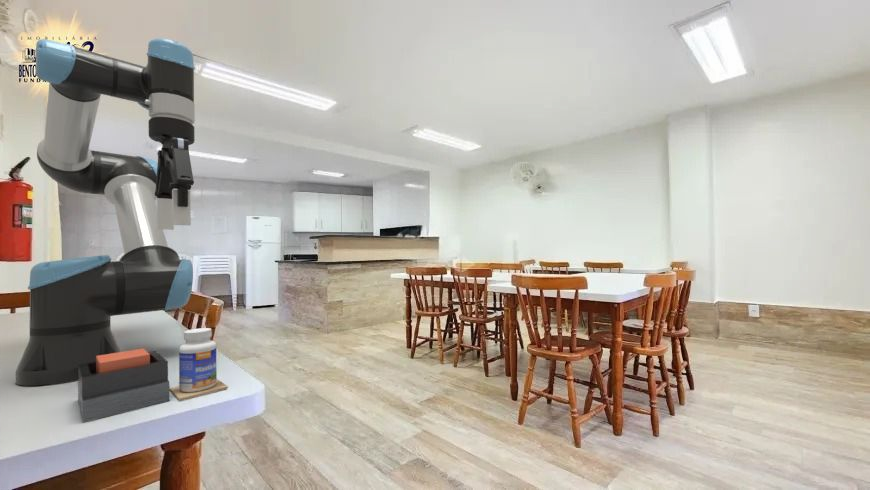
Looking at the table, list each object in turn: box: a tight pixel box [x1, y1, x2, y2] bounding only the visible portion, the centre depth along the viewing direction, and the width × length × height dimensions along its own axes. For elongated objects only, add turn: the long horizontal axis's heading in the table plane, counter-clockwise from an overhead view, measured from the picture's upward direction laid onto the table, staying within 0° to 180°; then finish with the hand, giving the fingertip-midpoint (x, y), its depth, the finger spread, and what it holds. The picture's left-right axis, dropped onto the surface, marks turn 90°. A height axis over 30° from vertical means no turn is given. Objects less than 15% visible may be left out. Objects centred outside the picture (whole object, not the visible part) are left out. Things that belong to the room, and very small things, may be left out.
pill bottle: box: [178, 327, 218, 392], centre depth 64 cm, size 5×5×10 cm
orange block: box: [96, 347, 150, 374], centre depth 59 cm, size 6×6×5 cm
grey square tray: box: [77, 350, 171, 423], centre depth 59 cm, size 12×10×6 cm
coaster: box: [170, 378, 229, 402], centre depth 63 cm, size 7×7×1 cm
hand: (173, 227), depth 74 cm, fingers open, 13 cm apart
